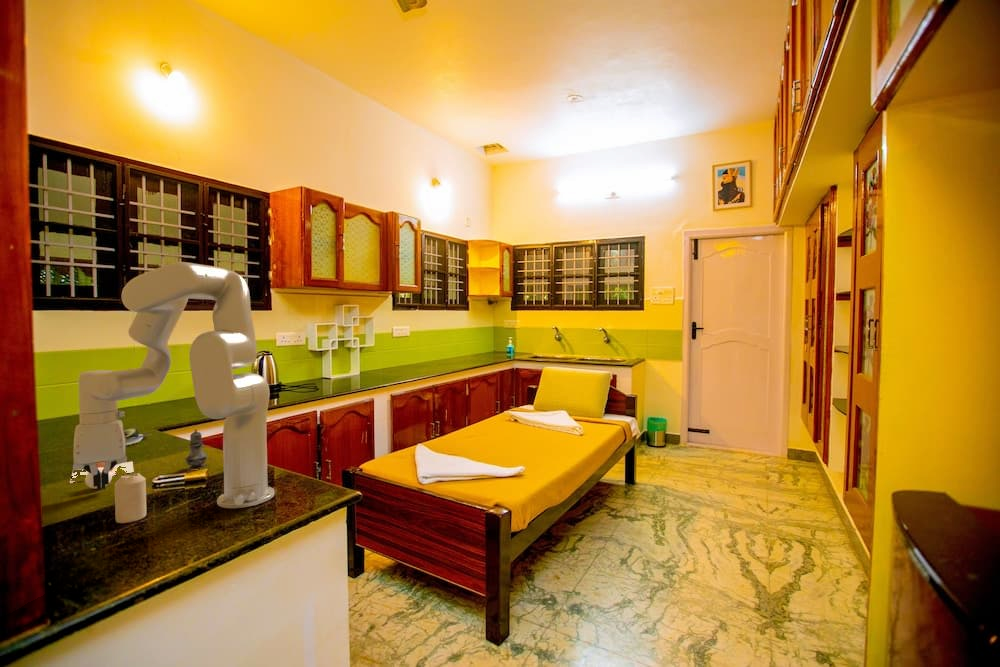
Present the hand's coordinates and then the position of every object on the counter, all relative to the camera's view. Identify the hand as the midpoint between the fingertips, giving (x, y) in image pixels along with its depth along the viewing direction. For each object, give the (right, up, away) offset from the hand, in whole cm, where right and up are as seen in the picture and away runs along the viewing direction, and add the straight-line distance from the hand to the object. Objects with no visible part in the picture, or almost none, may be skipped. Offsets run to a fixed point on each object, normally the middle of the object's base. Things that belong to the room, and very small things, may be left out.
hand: (101, 488), depth 120 cm
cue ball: (-4, +1, +4) cm, 6 cm away
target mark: (-15, -1, +18) cm, 23 cm away
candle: (+20, -2, -15) cm, 25 cm away
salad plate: (-39, -1, +51) cm, 64 cm away
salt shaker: (+11, -1, +21) cm, 24 cm away
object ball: (-12, +1, +15) cm, 19 cm away
